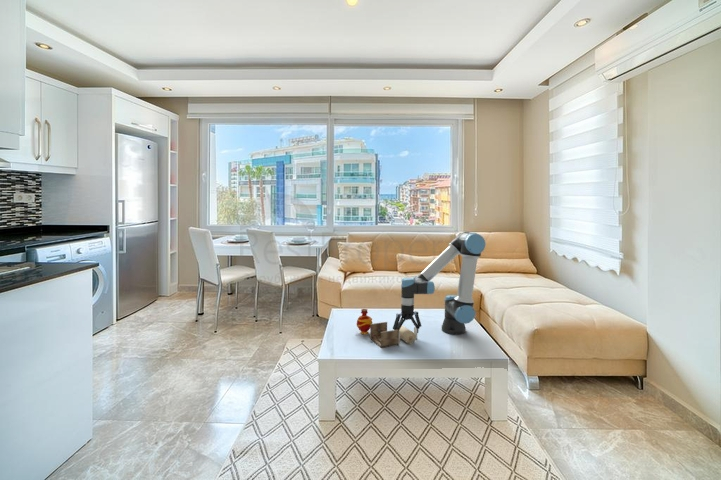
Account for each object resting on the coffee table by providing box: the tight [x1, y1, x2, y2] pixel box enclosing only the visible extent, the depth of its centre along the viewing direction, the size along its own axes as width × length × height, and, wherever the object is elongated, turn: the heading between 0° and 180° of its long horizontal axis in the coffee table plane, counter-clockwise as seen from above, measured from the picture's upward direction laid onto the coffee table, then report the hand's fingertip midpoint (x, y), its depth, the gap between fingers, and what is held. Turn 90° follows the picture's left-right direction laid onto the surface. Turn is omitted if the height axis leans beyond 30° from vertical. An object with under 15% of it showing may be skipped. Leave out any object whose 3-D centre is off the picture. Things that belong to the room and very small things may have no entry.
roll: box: [399, 325, 417, 345], centre depth 208 cm, size 7×12×7 cm, turn 21°
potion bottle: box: [356, 308, 374, 335], centre depth 220 cm, size 10×10×15 cm
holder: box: [369, 321, 400, 349], centre depth 205 cm, size 11×16×9 cm
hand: (407, 339), depth 208 cm, fingers open, 11 cm apart
